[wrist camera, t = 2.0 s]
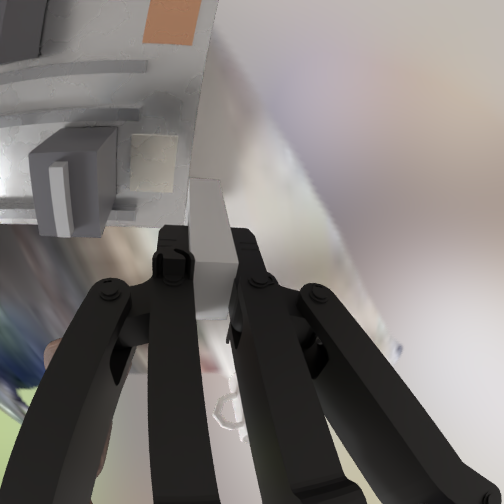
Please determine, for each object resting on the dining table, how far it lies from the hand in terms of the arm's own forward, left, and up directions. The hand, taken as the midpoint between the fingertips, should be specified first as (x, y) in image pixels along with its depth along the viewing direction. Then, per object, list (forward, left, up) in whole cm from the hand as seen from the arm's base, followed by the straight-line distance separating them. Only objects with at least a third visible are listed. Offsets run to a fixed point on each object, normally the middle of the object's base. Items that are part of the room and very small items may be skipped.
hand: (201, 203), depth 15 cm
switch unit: (-10, +5, -9) cm, 14 cm away
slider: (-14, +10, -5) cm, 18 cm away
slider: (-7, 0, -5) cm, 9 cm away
